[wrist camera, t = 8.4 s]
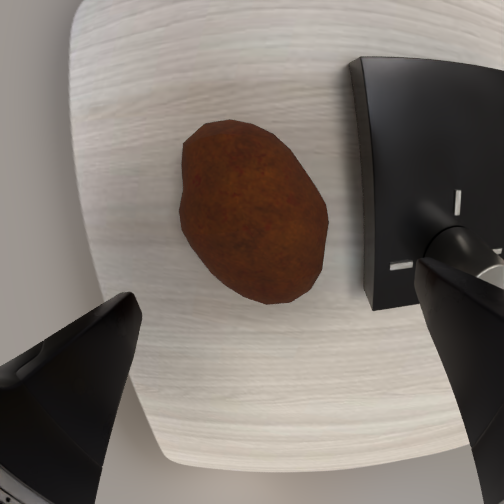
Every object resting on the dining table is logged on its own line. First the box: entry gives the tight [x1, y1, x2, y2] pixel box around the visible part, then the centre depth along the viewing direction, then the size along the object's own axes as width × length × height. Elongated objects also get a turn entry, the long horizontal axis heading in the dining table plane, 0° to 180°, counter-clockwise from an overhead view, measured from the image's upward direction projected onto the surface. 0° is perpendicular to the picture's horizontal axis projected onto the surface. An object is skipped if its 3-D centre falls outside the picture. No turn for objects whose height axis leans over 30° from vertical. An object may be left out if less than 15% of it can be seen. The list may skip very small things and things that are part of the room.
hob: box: [349, 57, 504, 311], centre depth 15 cm, size 15×10×3 cm, turn 9°
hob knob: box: [424, 227, 504, 289], centre depth 13 cm, size 4×4×5 cm
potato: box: [179, 120, 329, 305], centre depth 15 cm, size 7×9×6 cm
